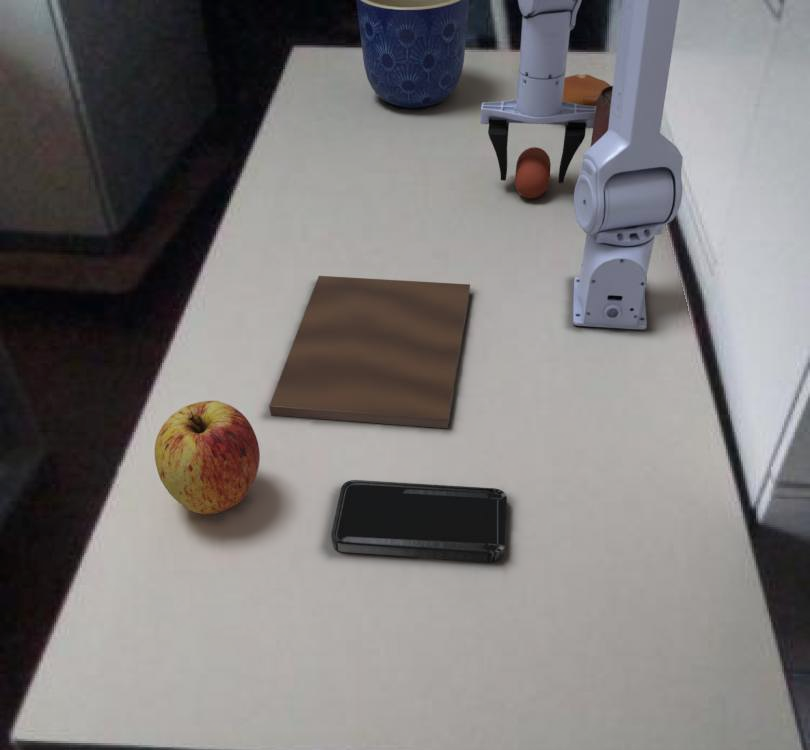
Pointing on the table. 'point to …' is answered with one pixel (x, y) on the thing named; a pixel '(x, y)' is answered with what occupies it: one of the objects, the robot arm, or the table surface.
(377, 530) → the phone
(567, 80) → the burger
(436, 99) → the planter
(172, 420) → the apple
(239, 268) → the table surface
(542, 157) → the sweet potato
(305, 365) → the board
